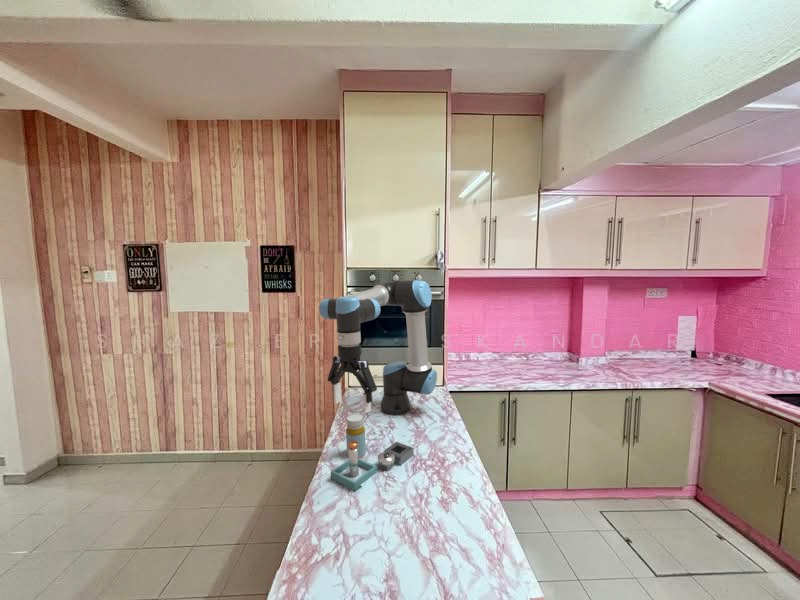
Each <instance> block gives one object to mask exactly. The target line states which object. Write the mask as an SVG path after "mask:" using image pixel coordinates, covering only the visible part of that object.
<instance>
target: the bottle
mask: <svg viewBox="0 0 800 600" xmlns="http://www.w3.org/2000/svg"><path fill="white" fill-rule="evenodd" d="M364 422H365V421H364V416H363V414H360V413H359V414H358V413H355V414H350V415H348V416H347V417H346V430H345V436H346V437H345V438H346V440H345V441H346V456H347V457H348V458H349V444H348V443H349V442H350V441H357V443H358V458H359V459H361V458H363V457H365V456H366V454H367V451H366V450H367V449H366V447H367V446H366V428H365V426H364Z"/></svg>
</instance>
